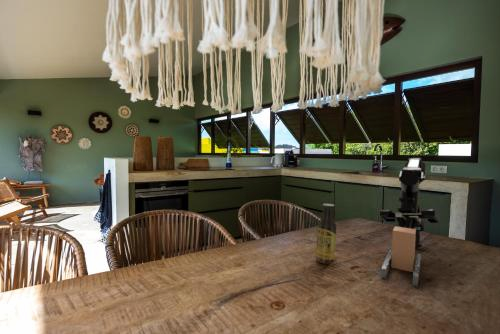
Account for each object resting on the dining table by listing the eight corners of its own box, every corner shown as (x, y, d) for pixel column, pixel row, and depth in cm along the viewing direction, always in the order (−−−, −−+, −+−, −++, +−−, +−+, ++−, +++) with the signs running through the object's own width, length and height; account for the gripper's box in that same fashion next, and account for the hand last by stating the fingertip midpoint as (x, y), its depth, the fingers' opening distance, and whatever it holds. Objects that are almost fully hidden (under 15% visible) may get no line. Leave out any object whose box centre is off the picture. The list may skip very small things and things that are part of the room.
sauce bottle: (312, 261, 95) (314, 204, 94) (321, 256, 100) (322, 201, 99) (330, 266, 91) (331, 207, 90) (338, 261, 95) (340, 204, 94)
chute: (389, 259, 97) (390, 248, 97) (420, 266, 92) (420, 254, 92) (380, 281, 81) (381, 268, 81) (417, 290, 76) (418, 276, 76)
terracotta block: (393, 261, 93) (395, 226, 92) (414, 265, 90) (415, 229, 89) (391, 267, 88) (392, 230, 88) (412, 272, 85) (414, 233, 84)
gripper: (446, 207, 100) (445, 249, 93) (393, 208, 114) (389, 245, 108) (435, 193, 94) (433, 237, 88) (380, 196, 108) (375, 234, 102)
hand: (406, 238), depth 96 cm, fingers closed
